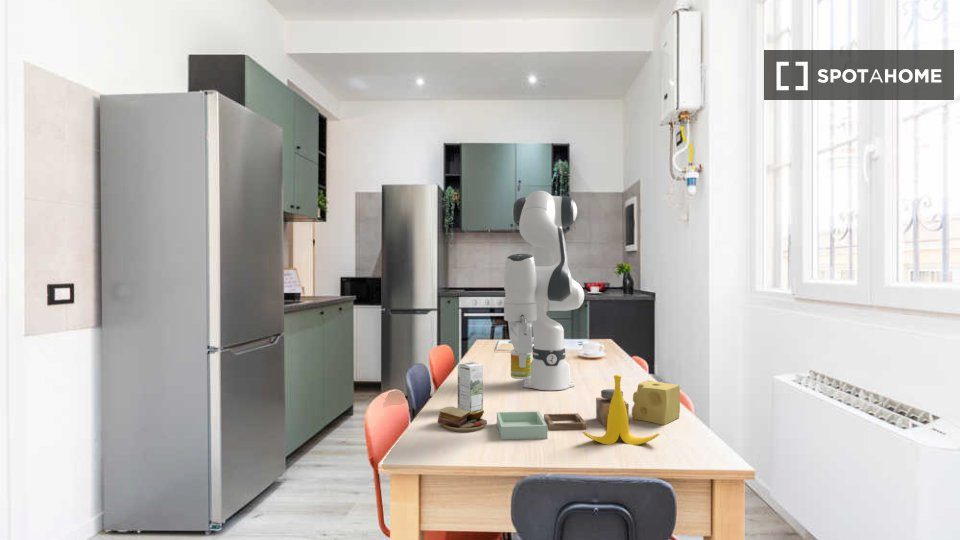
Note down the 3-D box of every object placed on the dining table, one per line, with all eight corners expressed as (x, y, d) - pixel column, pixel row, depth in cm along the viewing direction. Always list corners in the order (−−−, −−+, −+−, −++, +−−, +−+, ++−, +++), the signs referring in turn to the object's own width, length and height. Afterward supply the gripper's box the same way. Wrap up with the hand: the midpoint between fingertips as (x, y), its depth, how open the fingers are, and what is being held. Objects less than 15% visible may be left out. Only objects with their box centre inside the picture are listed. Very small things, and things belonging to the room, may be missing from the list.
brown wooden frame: (544, 419, 157) (544, 414, 157) (578, 418, 158) (578, 413, 158) (550, 430, 147) (550, 424, 147) (586, 429, 148) (586, 423, 148)
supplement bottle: (529, 379, 144) (529, 343, 144) (509, 379, 145) (509, 342, 145) (531, 375, 149) (531, 340, 149) (512, 375, 150) (512, 340, 150)
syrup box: (470, 406, 172) (470, 361, 172) (483, 410, 168) (483, 363, 168) (457, 410, 168) (456, 363, 168) (470, 413, 164) (470, 366, 164)
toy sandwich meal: (472, 436, 143) (472, 418, 143) (430, 428, 150) (430, 411, 150) (494, 424, 154) (494, 407, 154) (454, 417, 161) (454, 401, 161)
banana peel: (581, 445, 135) (580, 378, 135) (610, 426, 151) (609, 366, 151) (646, 459, 126) (646, 387, 126) (670, 437, 141) (670, 373, 141)
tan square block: (596, 418, 159) (596, 388, 159) (619, 417, 159) (619, 388, 159) (603, 426, 151) (603, 395, 151) (628, 425, 151) (628, 394, 151)
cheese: (631, 419, 158) (631, 384, 158) (648, 411, 166) (648, 379, 165) (666, 426, 151) (666, 390, 150) (681, 418, 158) (681, 383, 158)
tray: (496, 423, 154) (496, 412, 154) (538, 422, 154) (538, 411, 154) (501, 439, 140) (501, 426, 140) (547, 438, 140) (547, 425, 140)
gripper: (537, 317, 137) (538, 372, 137) (526, 310, 157) (527, 358, 157) (513, 317, 136) (513, 372, 136) (505, 310, 157) (505, 358, 157)
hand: (520, 364), depth 147 cm, fingers closed on supplement bottle, 5 cm apart
